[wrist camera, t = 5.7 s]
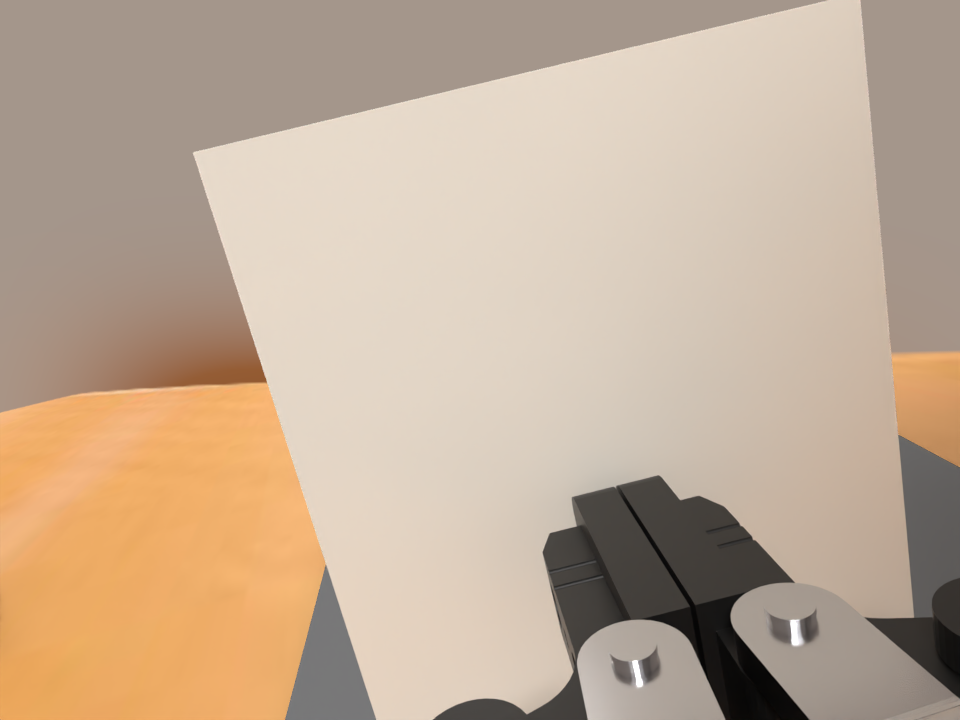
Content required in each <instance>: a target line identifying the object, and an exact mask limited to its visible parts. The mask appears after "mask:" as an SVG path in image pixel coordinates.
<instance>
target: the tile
mask: <svg viewBox="0 0 960 720" xmlns="http://www.w3.org/2000/svg"><path fill="white" fill-rule="evenodd" d="M193 154H194V157H195V160H196V163H197V167H198V170H199V173H200V176H201V179H202V182H203V185H204V188H205V191H206V194H207V197H208V200H209V204H210V207H211V210H212V213H213V216H214V219H215V222H216V225H217V228H218V231H219V235H220V237H221V241H222V244H223V247H224V250H225V253H226V256H227V259H228V262H229V266H230V268H231V272H232V275H233V278H234V281H235V284H236V287H237V290H238V293H239V296H240V300H241V303H242V306H243V309H244V312H245V315H246V318H247V321H248V324H249V327H250V330H251V334H252V337H253V339H254V343H255V346H256V349H257V352H258V355H259V358H260V361H261V365H262V368H263V371H264V374H265V377H266V380H267V383H268V386H269V389H270V392H271V395H272V399H273V402H274V405H275V408H276V411H277V414H278V417H279V420H280V423H281V426H282V430H283V433H284V436H285V439H286V442H287V445H288V448H289V451H290V454H291V457H292V460H293V464H294V467H295V470H296V473H297V476H298V479H299V482H300V485H301V488H302V491H303V494H304V498H305V501H306V504H307V507H308V510H309V513H310V516H311V519H312V522H313V525H314V529H315V532H316V535H317V538H318V541H319V544H320V547H321V550H322V553H323V556H324V559H325V563H326V566H327V569H328V572H329V575H330V578H331V581H332V584H333V587H334V590H335V593H336V597H337V600H338V603H339V606H340V609H341V612H342V615H343V618H344V621H345V624H346V628H347V631H348V634H349V637H350V640H351V643H352V646H353V649H354V652H355V655H356V658H357V662H358V665H359V668H360V671H361V674H362V677H363V680H364V683H365V686H366V689H367V692H368V696H369V699H370V702H371V705H372V708H373V711H374V714H375V717H376V720H433V719H434V718H435V717H437V716H438V715H439V714H441V713H442V712H444V711H445V710H447V709H449V708H451V707H453V706H455V705H457V704H460V703H463V702H466V701H470V700H475V699H484V698H489V699H499V700H504V701H507V702H510V703H512V704H514V705H516V706H517V707H519V708H521V709H522V710H523V711H524V712H525V713H526V714H528V713H530V712H532V711H534V710H536V709H537V708H539V707H541V706H543V705H544V704H546V703H547V702H549V701H550V700H552V699H553V698H554V697H555V696H556V695H558V694H559V693H560V692H561V691H562V689H563V688H564V687H565V686H566V684H567V683H568V682H569V680H570V678H571V676H572V674H573V669H572V666H571V663H570V659H569V656H568V653H567V649H566V646H565V643H564V640H563V636H562V633H561V629H560V625H559V621H558V617H557V612H556V608H555V604H554V600H553V595H552V591H551V587H550V583H549V578H548V574H547V570H546V565H545V561H544V557H543V553H542V552H543V549H544V547H545V544H546V541H547V539H548V536H549V534H550V533H552V532H556V531H560V530H564V529H568V528H572V527H576V526H577V525H576V521H575V516H574V511H573V506H572V497H574V496H578V495H582V494H586V493H590V492H594V491H598V490H602V489H606V488H610V487H615V488H616V486H617V485H621V484H625V483H629V482H633V481H637V480H641V479H645V478H649V477H653V476H657V475H659V476H661V477H662V478H663V480H664V481H665V482H666V483H667V485H668V486H669V487H670V488H671V489H672V491H673V492H674V493H675V494H676V496H677V497H678V498H679V499H680V500H683V499H687V498H691V497H695V496H701V497H704V498H706V499H708V500H710V501H713V502H715V503H717V504H720V505H722V506H724V507H725V508H726V509H727V510H728V511H729V512H730V513H731V514H732V515H733V516H734V517H735V519H736V520H737V521H738V522H739V523H740V526H743V527H744V528H745V529H746V530H747V531H748V533H749V534H750V535H751V536H752V538H753V540H756V541H757V542H758V543H759V544H760V545H761V547H762V548H763V549H764V550H765V551H766V552H767V553H768V554H769V555H770V556H771V557H772V558H773V559H774V561H775V562H776V563H777V564H778V565H779V566H780V567H781V568H782V569H783V570H784V571H785V572H786V573H787V575H788V576H789V577H790V578H791V579H792V580H793V581H794V582H795V583H801V584H807V585H812V586H816V587H820V588H822V589H825V590H828V591H830V592H832V593H834V594H835V595H837V596H839V597H840V598H841V599H843V600H844V601H845V602H847V603H848V604H849V605H850V606H851V607H852V608H854V609H855V610H856V611H857V612H858V613H859V614H861V615H862V616H863V617H867V618H914V610H913V598H912V587H911V575H910V564H909V553H908V541H907V530H906V518H905V507H904V495H903V484H902V472H901V461H900V450H899V438H898V427H897V415H896V404H895V392H894V381H893V369H892V358H891V347H890V335H889V325H888V313H887V301H886V289H885V278H884V267H883V256H882V243H881V234H880V233H881V232H880V221H879V210H878V198H877V186H876V175H875V163H874V153H873V140H872V129H871V118H870V106H869V95H868V83H867V72H866V61H865V49H864V38H863V27H862V14H861V3H860V0H828V1H824V2H819V3H815V4H811V5H807V6H803V7H798V8H794V9H790V10H786V11H782V12H778V13H773V14H769V15H766V16H761V17H757V18H753V19H748V20H744V21H740V22H736V23H732V24H727V25H723V26H720V27H715V28H711V29H707V30H702V31H698V32H695V33H690V34H686V35H682V36H678V37H674V38H669V39H665V40H661V41H656V42H652V43H648V44H644V45H640V46H636V47H632V48H627V49H623V50H619V51H615V52H611V53H607V54H602V55H598V56H594V57H590V58H585V59H581V60H577V61H573V62H569V63H564V64H560V65H556V66H552V67H548V68H544V69H540V70H535V71H531V72H527V73H523V74H519V75H515V76H510V77H506V78H502V79H498V80H493V81H490V82H485V83H481V84H477V85H473V86H469V87H464V88H460V89H456V90H452V91H448V92H443V93H439V94H435V95H431V96H427V97H422V98H418V99H414V100H410V101H406V102H402V103H398V104H393V105H389V106H385V107H381V108H377V109H372V110H368V111H364V112H360V113H356V114H351V115H347V116H343V117H339V118H335V119H331V120H326V121H322V122H318V123H314V124H310V125H306V126H302V127H297V128H293V129H289V130H285V131H281V132H276V133H272V134H268V135H264V136H260V137H255V138H251V139H247V140H243V141H239V142H235V143H231V144H227V145H222V146H218V147H214V148H210V149H205V150H201V151H197V152H193Z"/></svg>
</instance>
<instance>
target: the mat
mask: <svg viewBox="0 0 960 720" xmlns="http://www.w3.org/2000/svg"><path fill="white" fill-rule="evenodd" d="M898 438H899V450H900V461H901V472H902V484H903V495H904V507H905V518H906V530H907V541H908V553H909V564H910V575H911V587H912V598H913V610H914V618H920V617H933V615H932V598H933V595H934V593H935V592H936V591H937V590H938V588H939V587H941V586H942V585H944V584H945V583H947V582H949V581H952V580H954V579H958V578H960V468H959V467H958V466H956V465H954V464H952V463H950V462H948V461H946V460H945V459H943V458H941V457H939V456H937V455H935V454H933V453H931V452H930V451H928V450H926V449H924V448H922V447H920V446H918V445H917V444H915V443H913V442H911V441H909V440H907V439H905V438H903V437H902V436H900V435H898ZM285 720H376V717H375V714H374V711H373V708H372V705H371V702H370V699H369V696H368V692H367V689H366V686H365V683H364V680H363V677H362V674H361V671H360V668H359V665H358V662H357V658H356V655H355V652H354V649H353V646H352V643H351V640H350V637H349V634H348V631H347V628H346V624H345V621H344V618H343V615H342V612H341V609H340V606H339V603H338V600H337V597H336V593H335V590H334V587H333V584H332V581H331V578H330V575H329V572H328V569H327V566H325V570H324V574H323V578H322V582H321V585H320V589H319V593H318V597H317V601H316V605H315V608H314V612H313V616H312V620H311V624H310V627H309V631H308V635H307V639H306V643H305V646H304V650H303V654H302V658H301V662H300V665H299V669H298V673H297V677H296V681H295V684H294V688H293V692H292V696H291V700H290V703H289V707H288V711H287V715H286V719H285Z"/></svg>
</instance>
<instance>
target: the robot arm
mask: <svg viewBox="0 0 960 720" xmlns="http://www.w3.org/2000/svg"><path fill="white" fill-rule="evenodd" d="M572 506H573V511H574V516H575V521H576V525H577V526H576V527H572V528H568V529H564V530H560V531H556V532H552V533H550V534H549V536H548V539H547V541H546V544H545V547H544V549H543V552H542V553H543V557H544V561H545V565H546V570H547V574H548V578H549V583H550V587H551V591H552V595H553V600H554V604H555V608H556V612H557V617H558V621H559V625H560V629H561V633H562V636H563V640H564V643H565V646H566V649H567V653H568V656H569V659H570V663H571V666H572V669H573V674H572V676H571V678H570V680H569V682H568V683H567V684H566V686H565V687H564V688H563V689H562V691H561V692H560V693H559V694H558V695H556V696H555V697H554V698H553V699H552V700H550V701H549V702H547V703H546V704H544V705H543V706H541V707H539V708H537V709H536V710H534V711H532V712H530V713H528V714H526V713H525V712H524V711H523V710H522V709H521V708H519V707H517V706H516V705H514V704H512V703H510V702H507V701H504V700H499V699H489V698H484V699H475V700H470V701H466V702H463V703H460V704H457V705H455V706H453V707H451V708H449V709H447V710H445V711H444V712H442V713H441V714H439V715H438V716H437V717H435V718H434V719H433V720H960V578H958V579H954V580H952V581H949V582H947V583H945V584H944V585H942V586H941V587H939V588H938V590H937V591H936V592H935V593H934V595H933V598H932V615H933V617H920V618H867V617H863V616H862V615H861V614H859V613H858V612H857V611H856V610H855V609H854V608H852V607H851V606H850V605H849V604H848V603H847V602H845V601H844V600H843V599H841V598H840V597H839V596H837V595H835V594H834V593H832V592H830V591H828V590H825V589H822V588H820V587H816V586H812V585H807V584H801V583H795V582H794V581H793V580H792V579H791V578H790V577H789V576H788V575H787V573H786V572H785V571H784V570H783V569H782V568H781V567H780V566H779V565H778V564H777V563H776V562H775V561H774V559H773V558H772V557H771V556H770V555H769V554H768V553H767V552H766V551H765V550H764V549H763V548H762V547H761V545H760V544H759V543H758V542H757V541H756V540H753V538H752V536H751V535H750V534H749V533H748V531H747V530H746V529H745V528H744V527H743V526H740V523H739V522H738V521H737V520H736V519H735V517H734V516H733V515H732V514H731V513H730V512H729V511H728V510H727V509H726V508H725V507H724V506H722V505H720V504H717V503H715V502H713V501H710V500H708V499H706V498H704V497H701V496H695V497H691V498H687V499H683V500H680V499H679V498H678V497H677V496H676V494H675V493H674V492H673V491H672V489H671V488H670V487H669V486H668V485H667V483H666V482H665V481H664V480H663V478H662V477H661V476H659V475H657V476H653V477H649V478H645V479H641V480H637V481H633V482H629V483H625V484H621V485H617V486H616V488H615V487H610V488H606V489H602V490H598V491H594V492H590V493H586V494H582V495H578V496H574V497H572Z"/></svg>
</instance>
